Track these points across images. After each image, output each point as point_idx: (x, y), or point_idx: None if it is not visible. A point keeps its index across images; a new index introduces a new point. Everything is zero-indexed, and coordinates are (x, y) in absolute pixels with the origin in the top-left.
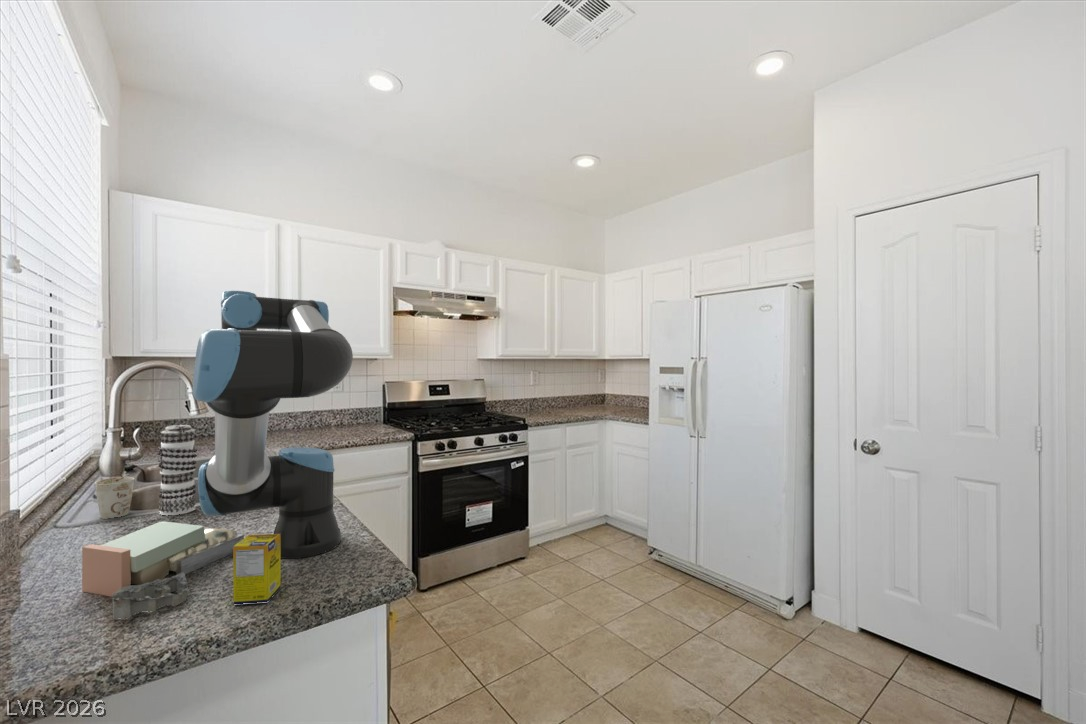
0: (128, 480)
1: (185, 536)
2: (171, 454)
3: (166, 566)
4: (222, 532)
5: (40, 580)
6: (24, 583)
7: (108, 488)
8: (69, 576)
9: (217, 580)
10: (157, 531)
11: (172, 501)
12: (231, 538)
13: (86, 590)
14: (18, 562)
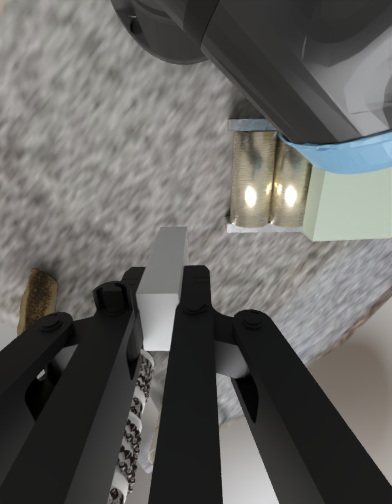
0: (151, 453)
1: None
2: (126, 458)
3: None
4: (266, 139)
5: (368, 289)
6: (376, 296)
7: None
8: (356, 271)
9: None
10: (359, 200)
11: (143, 372)
12: (254, 125)
13: None
14: (321, 357)
